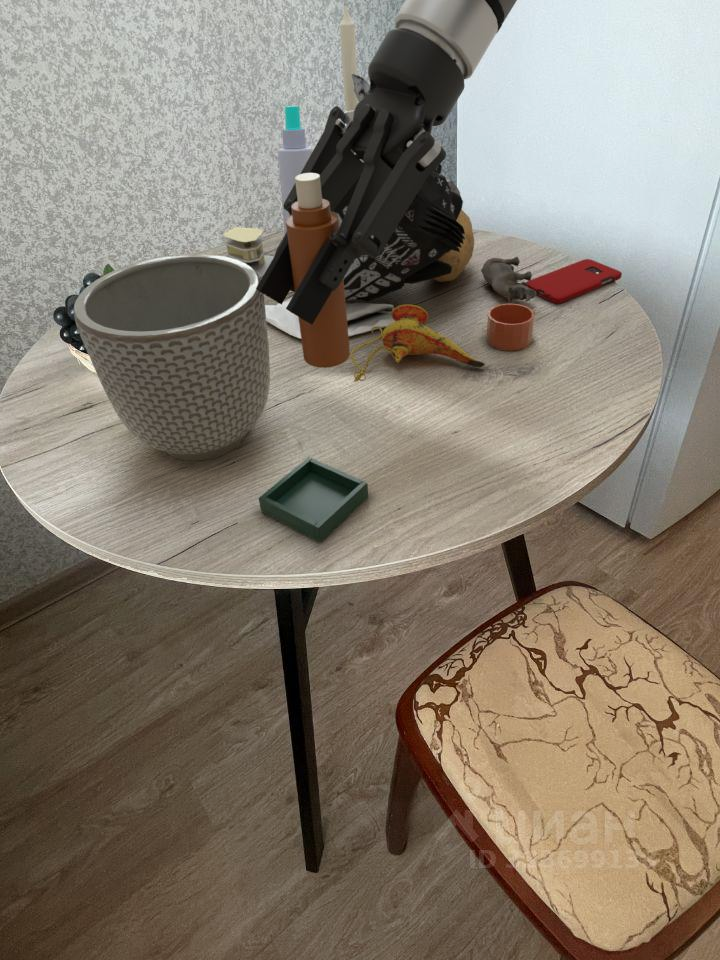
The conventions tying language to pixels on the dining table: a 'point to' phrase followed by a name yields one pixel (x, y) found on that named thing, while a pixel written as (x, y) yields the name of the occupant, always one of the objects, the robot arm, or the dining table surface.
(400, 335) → the magic lamp
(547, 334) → the dining table surface
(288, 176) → the spray bottle
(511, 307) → the terracotta round cup
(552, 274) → the cell phone
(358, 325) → the cloth
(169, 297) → the planter
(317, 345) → the bottle
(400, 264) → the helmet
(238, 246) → the stacked layers on plate
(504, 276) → the rhino figurine
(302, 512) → the tray
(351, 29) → the candle
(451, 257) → the potato
